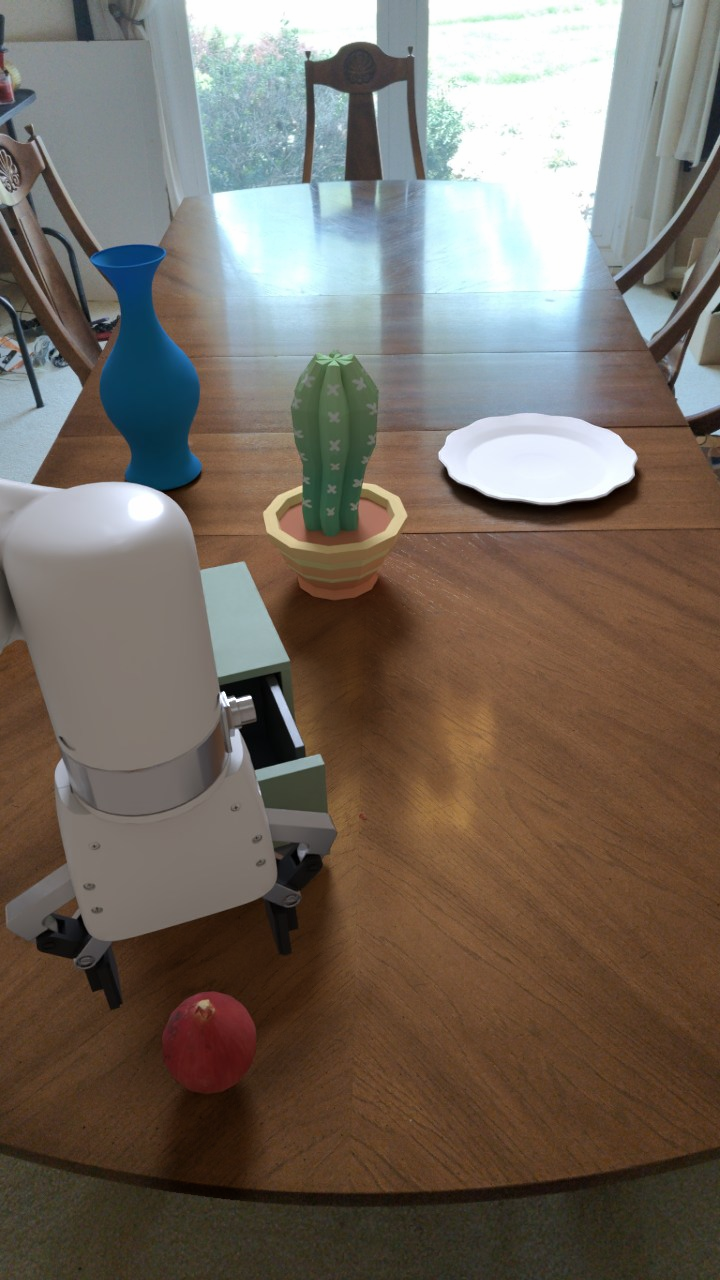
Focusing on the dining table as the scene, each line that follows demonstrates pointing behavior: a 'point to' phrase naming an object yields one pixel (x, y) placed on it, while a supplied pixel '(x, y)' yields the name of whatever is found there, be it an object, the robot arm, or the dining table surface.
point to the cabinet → (243, 629)
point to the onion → (209, 1042)
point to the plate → (538, 459)
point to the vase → (147, 376)
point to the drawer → (279, 752)
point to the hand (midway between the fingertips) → (198, 960)
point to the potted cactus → (335, 484)
